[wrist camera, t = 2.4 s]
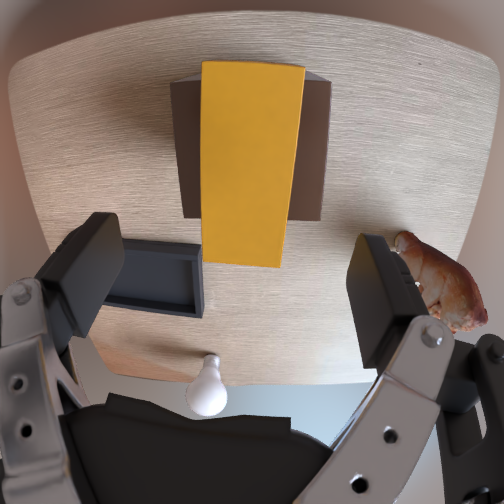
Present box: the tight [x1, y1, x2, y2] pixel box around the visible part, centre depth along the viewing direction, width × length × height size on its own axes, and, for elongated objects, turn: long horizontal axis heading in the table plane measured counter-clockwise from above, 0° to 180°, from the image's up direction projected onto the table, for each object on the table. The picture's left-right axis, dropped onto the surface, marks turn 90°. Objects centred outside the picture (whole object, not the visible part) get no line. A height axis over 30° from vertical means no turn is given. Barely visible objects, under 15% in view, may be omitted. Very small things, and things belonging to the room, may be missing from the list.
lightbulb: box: [185, 355, 227, 416], centre depth 45 cm, size 6×6×11 cm
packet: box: [200, 60, 305, 268], centre depth 16 cm, size 11×4×4 cm, turn 176°
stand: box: [170, 71, 332, 221], centre depth 22 cm, size 9×9×12 cm
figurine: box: [395, 231, 488, 334], centre depth 28 cm, size 6×8×15 cm
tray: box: [102, 239, 204, 318], centre depth 39 cm, size 11×17×2 cm, turn 86°
